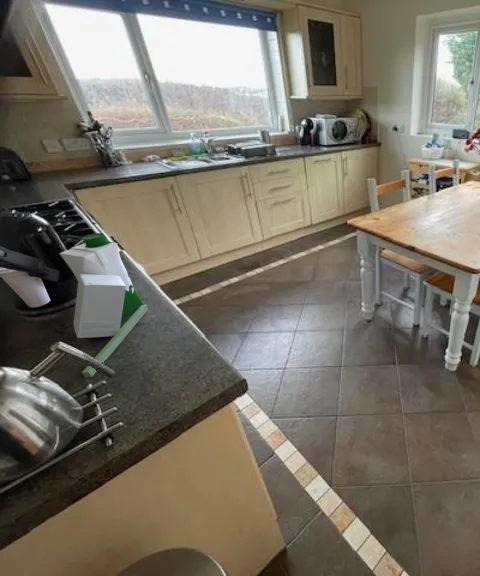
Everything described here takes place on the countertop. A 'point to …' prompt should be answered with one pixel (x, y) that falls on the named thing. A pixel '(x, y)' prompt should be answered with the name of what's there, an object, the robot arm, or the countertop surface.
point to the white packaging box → (98, 305)
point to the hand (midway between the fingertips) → (39, 277)
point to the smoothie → (26, 287)
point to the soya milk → (102, 266)
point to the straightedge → (116, 339)
